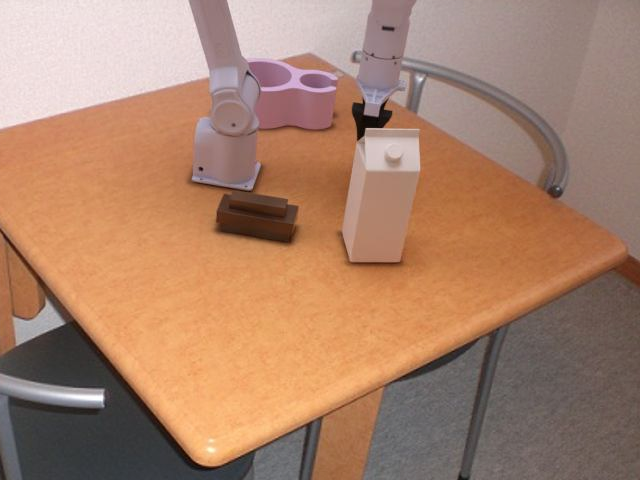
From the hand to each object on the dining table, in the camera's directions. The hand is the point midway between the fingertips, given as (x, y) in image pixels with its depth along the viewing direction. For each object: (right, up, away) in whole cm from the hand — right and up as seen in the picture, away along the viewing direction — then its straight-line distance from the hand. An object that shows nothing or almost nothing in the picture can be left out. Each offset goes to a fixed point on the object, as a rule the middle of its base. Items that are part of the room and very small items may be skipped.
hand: (367, 137), depth 131 cm
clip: (-13, +9, +24) cm, 28 cm away
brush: (-16, -14, -3) cm, 22 cm away
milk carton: (0, -17, -5) cm, 17 cm away
